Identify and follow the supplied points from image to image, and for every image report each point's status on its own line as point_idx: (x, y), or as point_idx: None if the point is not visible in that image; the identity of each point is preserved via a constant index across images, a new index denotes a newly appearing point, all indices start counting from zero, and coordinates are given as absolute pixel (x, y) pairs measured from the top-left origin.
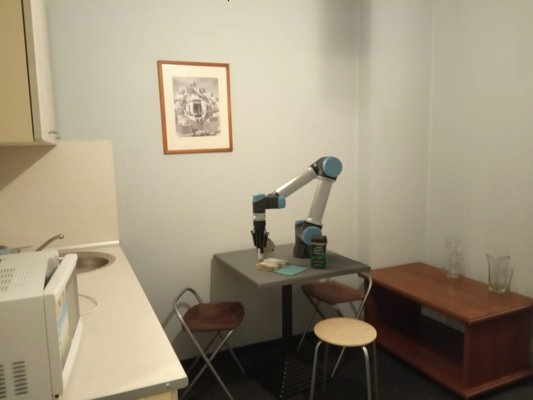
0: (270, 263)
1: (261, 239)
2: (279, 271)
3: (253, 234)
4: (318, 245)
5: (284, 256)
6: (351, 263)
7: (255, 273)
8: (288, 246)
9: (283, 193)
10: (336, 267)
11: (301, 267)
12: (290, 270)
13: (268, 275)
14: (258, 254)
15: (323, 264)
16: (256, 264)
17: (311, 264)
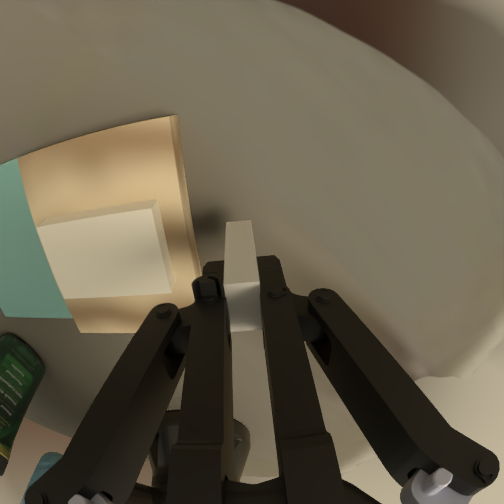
0: (84, 212)
1: (182, 412)
2: (10, 185)
3: (415, 448)
4: None
5: (256, 399)
6: (30, 412)
7: (86, 38)
8: (342, 450)
9: None
10: None
11: (23, 313)
12: (1, 243)
13: (7, 91)
14: (245, 242)
15: None
16: (162, 117)
17: (7, 343)
